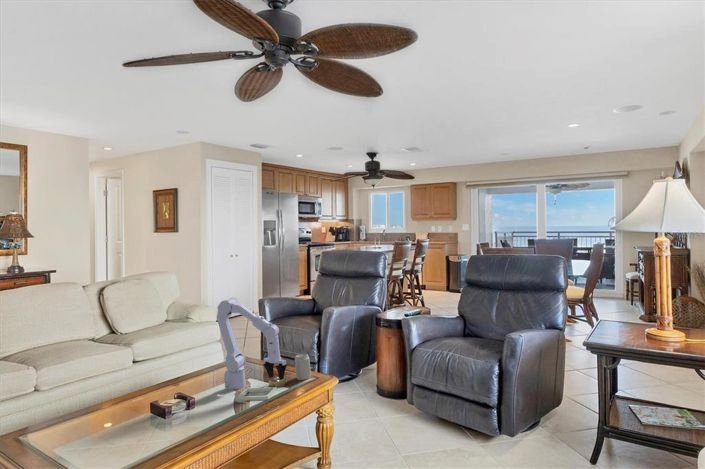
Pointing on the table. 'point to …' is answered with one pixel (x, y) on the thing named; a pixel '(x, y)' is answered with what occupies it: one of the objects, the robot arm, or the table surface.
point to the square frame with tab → (277, 382)
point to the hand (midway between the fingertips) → (276, 378)
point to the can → (302, 367)
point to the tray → (242, 398)
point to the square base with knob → (277, 380)
